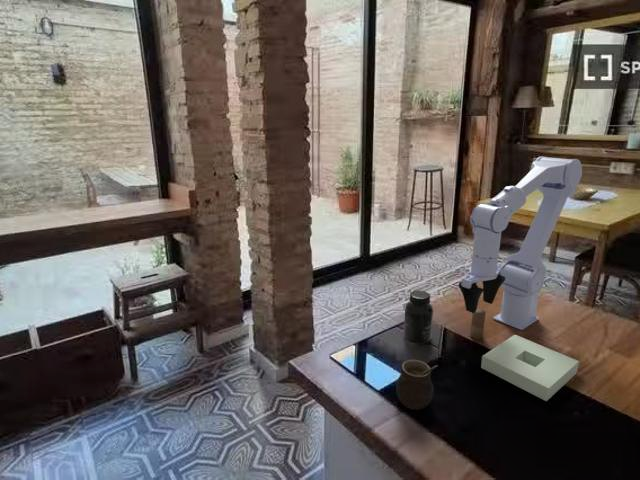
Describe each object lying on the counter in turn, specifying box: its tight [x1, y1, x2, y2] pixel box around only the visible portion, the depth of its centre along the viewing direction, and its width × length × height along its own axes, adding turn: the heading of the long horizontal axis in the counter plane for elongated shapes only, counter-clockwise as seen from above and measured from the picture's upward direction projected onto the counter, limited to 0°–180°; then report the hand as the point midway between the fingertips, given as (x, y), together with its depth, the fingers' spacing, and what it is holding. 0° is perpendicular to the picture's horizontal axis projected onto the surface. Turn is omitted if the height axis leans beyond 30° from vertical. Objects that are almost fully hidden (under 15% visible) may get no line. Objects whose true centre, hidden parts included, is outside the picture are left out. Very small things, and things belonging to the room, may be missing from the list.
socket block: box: [480, 334, 580, 402], centre depth 87 cm, size 14×14×3 cm
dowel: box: [469, 308, 486, 340], centre depth 100 cm, size 3×3×7 cm
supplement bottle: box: [403, 290, 434, 345], centre depth 99 cm, size 7×7×12 cm
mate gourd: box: [395, 359, 439, 411], centre depth 77 cm, size 7×8×10 cm
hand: (479, 306), depth 99 cm, fingers open, 7 cm apart
